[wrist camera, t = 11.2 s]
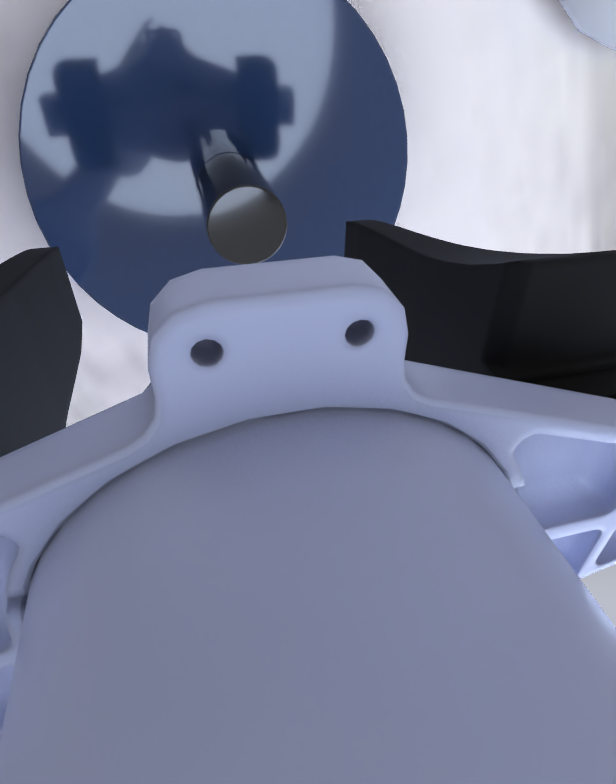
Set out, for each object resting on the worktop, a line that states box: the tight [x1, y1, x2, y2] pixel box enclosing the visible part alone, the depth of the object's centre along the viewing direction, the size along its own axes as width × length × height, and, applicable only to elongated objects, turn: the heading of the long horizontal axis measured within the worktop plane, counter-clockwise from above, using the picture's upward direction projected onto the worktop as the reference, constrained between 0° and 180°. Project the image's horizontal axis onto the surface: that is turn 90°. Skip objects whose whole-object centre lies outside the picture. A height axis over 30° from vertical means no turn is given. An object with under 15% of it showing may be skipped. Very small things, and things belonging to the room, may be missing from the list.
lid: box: [19, 0, 407, 333], centre depth 18 cm, size 14×14×5 cm
